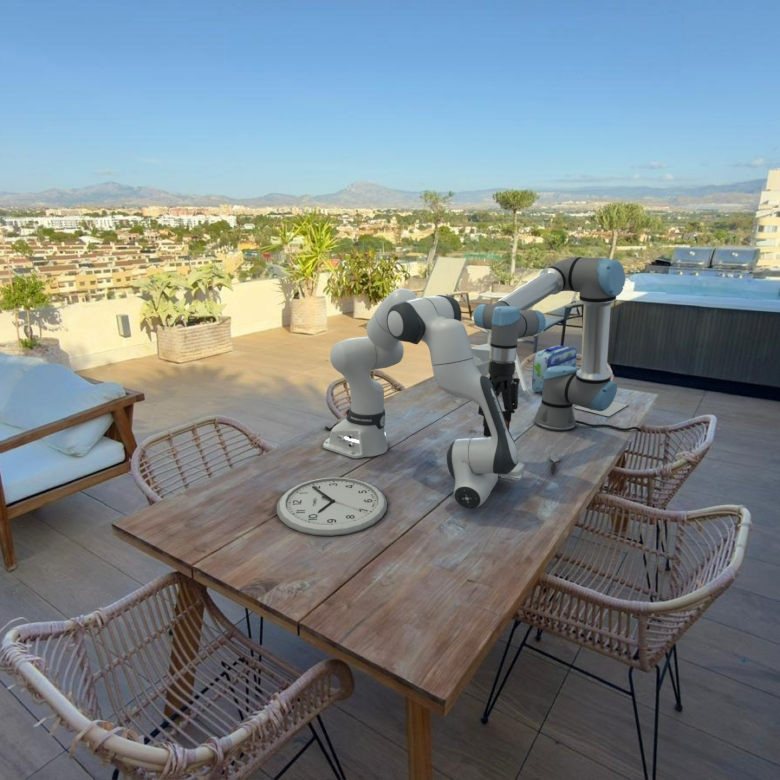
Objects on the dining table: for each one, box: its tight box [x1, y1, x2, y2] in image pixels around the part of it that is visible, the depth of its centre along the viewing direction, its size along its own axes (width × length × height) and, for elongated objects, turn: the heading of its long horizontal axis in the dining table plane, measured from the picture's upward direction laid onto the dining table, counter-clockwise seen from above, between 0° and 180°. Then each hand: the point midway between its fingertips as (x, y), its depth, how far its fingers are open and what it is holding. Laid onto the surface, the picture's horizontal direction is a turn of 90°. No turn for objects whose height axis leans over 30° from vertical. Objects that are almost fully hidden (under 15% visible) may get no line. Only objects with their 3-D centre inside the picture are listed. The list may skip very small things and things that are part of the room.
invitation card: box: [573, 400, 629, 418], centre depth 226 cm, size 21×1×15 cm
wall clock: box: [276, 476, 388, 537], centre depth 142 cm, size 30×2×30 cm
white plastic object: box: [471, 342, 531, 397], centre depth 245 cm, size 37×45×31 cm
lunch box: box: [531, 345, 577, 393], centre depth 245 cm, size 26×11×21 cm, turn 134°
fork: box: [550, 450, 560, 475], centre depth 169 cm, size 3×16×2 cm, turn 160°
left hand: (494, 455), depth 161 cm, fingers closed on jar, 5 cm apart
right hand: (496, 434), depth 158 cm, fingers closed on lid, 6 cm apart
